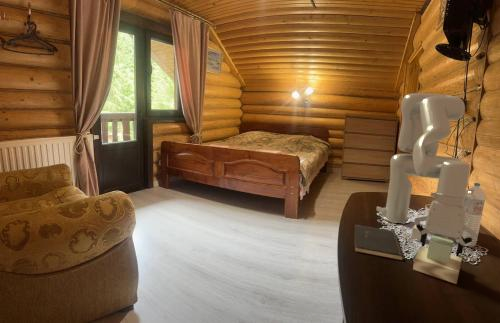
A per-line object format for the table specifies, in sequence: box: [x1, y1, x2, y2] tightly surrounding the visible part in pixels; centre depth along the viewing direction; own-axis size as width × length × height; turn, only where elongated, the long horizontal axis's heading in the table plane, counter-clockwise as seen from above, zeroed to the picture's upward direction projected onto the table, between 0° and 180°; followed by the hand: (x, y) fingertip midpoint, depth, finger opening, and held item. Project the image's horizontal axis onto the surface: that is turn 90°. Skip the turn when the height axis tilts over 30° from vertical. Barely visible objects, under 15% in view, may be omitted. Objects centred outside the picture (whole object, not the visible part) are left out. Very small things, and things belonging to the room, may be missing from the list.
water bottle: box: [455, 182, 487, 248], centre depth 120 cm, size 7×7×25 cm
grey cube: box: [410, 224, 429, 242], centre depth 124 cm, size 5×5×5 cm
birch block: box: [412, 245, 463, 285], centre depth 100 cm, size 12×12×4 cm
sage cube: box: [427, 235, 454, 264], centre depth 99 cm, size 6×6×6 cm
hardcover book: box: [354, 224, 404, 261], centre depth 118 cm, size 16×23×2 cm
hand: (439, 249), depth 100 cm, fingers open, 9 cm apart
